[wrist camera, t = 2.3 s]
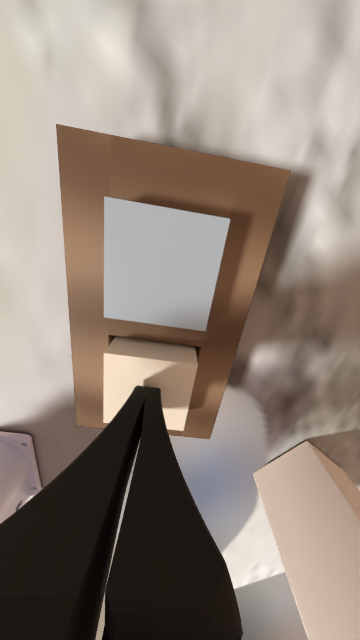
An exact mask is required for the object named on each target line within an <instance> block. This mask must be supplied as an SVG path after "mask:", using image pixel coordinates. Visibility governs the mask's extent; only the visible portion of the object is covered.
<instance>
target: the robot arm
mask: <svg viewBox="0 0 360 640" xmlns="http://www.w3.org/2000/svg"><path fill="white" fill-rule="evenodd" d="M140 437H141V439H140ZM139 441H140V445H139ZM138 445H139V449H138V454H137V458H136V462H135V467H134V471H133V476H132V480H131V485H130V489H129V493H128V498H127V502H126V506H125V510H124V515H123V519H122V523H121V528H120V532H119V536H118V540H117V544H116V548H115V553H114V557H113V561H112V565H111V569H110V573H109V568H110V563H111V558H112V553H113V548H114V543H115V538H116V533H117V528H118V524H119V519H120V514H121V509H122V505H123V500H124V495H125V492H126V487H127V483H128V480H129V476H130V473H131V469H132V466H133V462H134V458H135V455H136V452H137V448H138ZM30 495H31V496H34V497H33V498H31V499H30V500H29V501H28V502H27V500H28V498H29V497H30ZM26 502H27V503H26ZM25 503H26V504H25ZM108 573H109V578H108V582H107V577H108ZM106 583H107V585H106ZM105 588H106V589H105ZM104 593H105V626H104V631H103V636H102V640H241V638H242V635H243V630H242V625H241V618H240V613H239V609H238V604H237V600H236V596H235V592H234V589H233V585H232V582H231V578H230V575H229V572H228V569H227V565H226V562H225V560H224V558H223V556H222V554H221V553H220V551H219V549H218V547H217V545H216V543H215V542H214V540H213V538H212V536H211V534H210V532H209V530H208V528H207V526H206V525H205V523H204V520H203V519H202V517H201V514H200V513H199V510H198V508H197V506H196V504H195V502H194V500H193V497H192V495H191V493H190V491H189V489H188V486H187V484H186V482H185V480H184V477H183V475H182V472H181V470H180V467H179V465H178V462H177V459H176V457H175V454H174V451H173V448H172V445H171V442H170V438H169V435H168V431H167V427H166V423H165V419H164V415H163V409H162V403H161V389H160V388H155V387H146V386H138V385H137V386H136V387H135V388H134V390H133V391H132V393H131V395H130V396H129V398H128V399H127V401H126V402H125V403H124V405H123V406H122V407H121V409H120V410H119V411H118V413H117V414H116V415H115V417H114V418H113V419H112V420H111V421H110V423H109V424H108V425H107V426H106V427H105V429H104V430H103V431H102V432H101V433H100V434H99V435H98V437H97V438H96V439H95V440H94V441H93V442H92V443H91V444H90V445H89V446H88V447H87V448H86V449H85V450H84V451H83V452H82V453H81V454H80V455H79V456H78V457H77V458H76V459H75V460H74V461H73V462H72V463H71V464H70V465H69V466H68V467H67V468H66V469H65V470H64V471H62V472H61V473H60V474H59V475H58V476H57V477H56V478H55V479H54V480H52V481H51V482H50V483H49V484H48V485H47V486H45V487H44V488H43V489H42V488H41V483H40V478H39V473H38V468H37V463H36V458H35V452H34V447H33V442H32V438H31V436H30V435H28V434H22V433H11V432H1V431H0V640H95V638H96V632H97V628H98V623H99V618H100V613H101V608H102V602H103V597H104Z"/></svg>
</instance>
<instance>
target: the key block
mask: <svg viewBox="0 0 360 640" xmlns="http://www.w3.org/2000/svg"><path fill="white" fill-rule="evenodd" d="M56 129H57V144H58V159H59V173H60V188H61V202H62V217H63V232H64V246H65V261H66V276H67V290H68V305H69V319H70V334H71V349H72V363H73V378H74V393H75V407H76V422H77V426H84V427H94V428H104V429H105V427H106V426H107V425H108V424H109V423H103V387H104V352H105V351H106V349H107V348H108V346H109V345H110V344H111V342H112V341H113V340H114V338H115V337H116V336H119V337H130V338H137V339H145V340H152V341H160V342H167V343H175V344H183V345H190V346H194V347H195V350H196V356H197V362H198V367H197V372H196V376H195V381H194V385H193V390H192V394H191V399H190V403H189V408H188V412H187V417H186V421H185V426H184V430H183V431H179V430H169V429H167V431H168V435H174V436H184V437H194V438H204V439H210V437H211V433H212V430H213V427H214V424H215V420H216V417H217V414H218V410H219V407H220V404H221V400H222V397H223V394H224V390H225V387H226V384H227V381H228V377H229V374H230V371H231V367H232V364H233V361H234V357H235V354H236V351H237V347H238V344H239V341H240V337H241V334H242V331H243V328H244V324H245V321H246V318H247V314H248V311H249V308H250V304H251V301H252V298H253V294H254V291H255V288H256V284H257V281H258V278H259V275H260V271H261V268H262V265H263V261H264V258H265V255H266V251H267V248H268V245H269V241H270V238H271V235H272V231H273V228H274V225H275V222H276V218H277V215H278V212H279V208H280V205H281V202H282V198H283V195H284V192H285V188H286V185H287V182H288V178H289V175H290V172H291V171H290V170H285V169H280V168H275V167H270V166H265V165H260V164H255V163H250V162H245V161H240V160H235V159H230V158H225V157H220V156H215V155H210V154H205V153H200V152H194V151H189V150H184V149H179V148H174V147H169V146H164V145H159V144H154V143H149V142H144V141H139V140H134V139H129V138H124V137H119V136H114V135H109V134H104V133H99V132H94V131H89V130H84V129H79V128H74V127H69V126H64V125H59V124H56ZM104 196H105V197H111V198H116V199H122V200H127V201H133V202H139V203H144V204H150V205H156V206H161V207H167V208H172V209H178V210H184V211H189V212H195V213H200V214H206V215H212V216H217V217H223V218H229V219H230V224H229V228H228V232H227V237H226V241H225V246H224V250H223V255H222V259H221V264H220V268H219V273H218V277H217V282H216V286H215V291H214V295H213V300H212V304H211V309H210V313H209V318H208V322H207V327H206V331H199V330H192V329H185V328H178V327H170V326H163V325H156V324H149V323H141V322H134V321H127V320H120V319H112V318H105V317H104Z"/></svg>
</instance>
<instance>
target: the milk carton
mask: <svg viewBox="0 0 360 640" xmlns="http://www.w3.org/2000/svg"><path fill="white" fill-rule="evenodd" d="M253 476H254V479H255V482H256V485H257V488H258V491H259V494H260V497H261V500H262V503H263V506H264V509H265V512H266V515H267V518H268V521H269V524H270V527H271V530H272V533H273V536H274V539H275V542H276V545H277V548H278V551H279V554H280V557H281V560H282V563H283V566H284V569H285V572H286V575H287V578H288V581H289V584H290V587H291V590H292V593H293V596H294V598H295V602H296V605H297V608H298V611H299V614H300V617H301V620H302V623H303V626H304V629H305V631H306V635H307V638H308V640H360V491H359V490H358V489H357V487H356V486H355V485H354V483H353V482H352V481H351V479H350V478H349V477H348V475H347V474H346V473H345V472H344V470H342V469H341V468H340V467H339V466H337V465H336V464H335V463H334V462H333V461H331V460H330V459H329V458H328V457H326V456H325V455H324V454H323V453H321V452H320V451H319V450H318V449H317V448H315V447H314V446H313V445H312V444H310V443H309V442H308V441H306V442H304V443H302V444H300V445H298V446H297V447H295V448H294V449H292V450H290V451H289V452H287V453H285V454H284V455H282V456H280V457H279V458H277V459H276V460H274V461H272V462H271V463H269V464H267V465H266V466H264V467H262V468H261V469H259V470H258V471H256V472H254V473H253Z"/></svg>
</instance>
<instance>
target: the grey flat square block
mask: <svg viewBox="0 0 360 640" xmlns="http://www.w3.org/2000/svg"><path fill="white" fill-rule="evenodd" d="M229 224H230V219H229V218H223V217H217V216H212V215H206V214H200V213H195V212H189V211H184V210H178V209H172V208H167V207H161V206H156V205H150V204H144V203H139V202H133V201H127V200H122V199H116V198H111V197H105V196H104V317H105V318H112V319H120V320H127V321H134V322H141V323H149V324H156V325H163V326H170V327H178V328H185V329H192V330H199V331H206V327H207V322H208V318H209V313H210V309H211V304H212V300H213V295H214V291H215V286H216V282H217V277H218V273H219V268H220V264H221V259H222V255H223V250H224V246H225V241H226V237H227V232H228V228H229Z"/></svg>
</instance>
